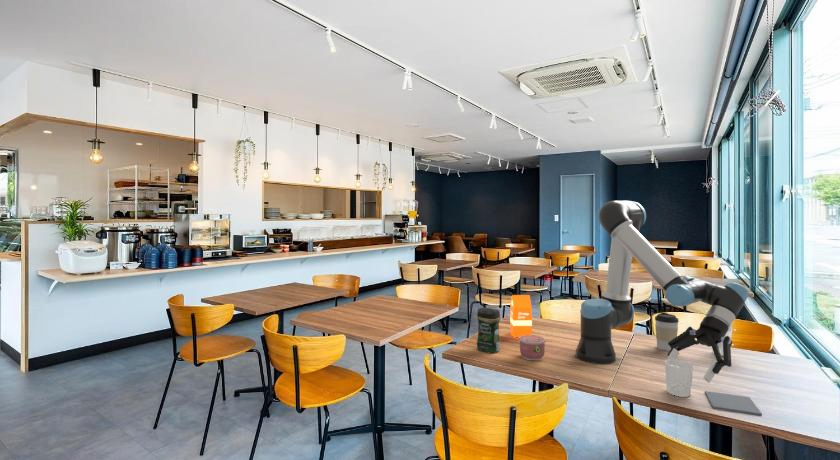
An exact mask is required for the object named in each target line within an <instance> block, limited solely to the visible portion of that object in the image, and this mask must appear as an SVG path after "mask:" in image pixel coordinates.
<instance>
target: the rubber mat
mask: <svg viewBox="0 0 840 460" xmlns="http://www.w3.org/2000/svg"><path fill="white" fill-rule="evenodd" d="M704 394H705V396H706V398H707V400H708V401H709V403H710V405H711V407H712V409H714V410H715V409H716V410H722V411H729V412H733V413H735V412H736V413H742V414H747V415H748V414H749V415H755V416H763V414H762V412H761V411H760V409H759V408H758V406H757V405H756V403H754V402H753V400H752V399H751V397H750V396H745V395H744V396H743V395H737V394H730V393H721V392H715V391H707V390H705V391H704Z"/></svg>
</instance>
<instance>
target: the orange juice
mask: <svg viewBox="0 0 840 460" xmlns="http://www.w3.org/2000/svg"><path fill="white" fill-rule="evenodd" d="M509 308H510V312H509V315H510V317H509V321H510V323H509V324H510V327H509V328H510V329H509V332H510V333H511V334H510V336H511V337H512V336H513V337H514V338H513V337H512V338H513V339H517V338H516V337H521V336H524V335H533V332H532V331H533V315H532V314H533V312H532V311H533V310H532V308H533V307H532V301H531V295H530V294H512V295H511V299H510V307H509Z"/></svg>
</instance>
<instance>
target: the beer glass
mask: <svg viewBox="0 0 840 460" xmlns="http://www.w3.org/2000/svg"><path fill="white" fill-rule="evenodd" d="M732 334H733V324H732V325H731V326H730V327H729V330H728V331H727V333H726V335H725V336H724V337H726V336H728V337H729V338H730V339H731V340H732ZM717 345H718V347H719V351H720V354H721V356H722V357H723V342H720V343H718V344H717ZM711 354H713V355H714V352H713V350H712V353H711Z"/></svg>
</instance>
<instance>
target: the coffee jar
mask: <svg viewBox="0 0 840 460" xmlns="http://www.w3.org/2000/svg"><path fill="white" fill-rule="evenodd" d="M476 319H477V321H478V323H477V324H478V331H477V332H478V333H477V342H476V349H477V350H478V351H480V350H481V351H480V352H483V351H484V352H485V353H488V352H489V353H488V354H495V353H494V352H496V353H497V352H500V350H501V341H500V329H499V328H500V326H499V325H500V321H501V314H500V310H499V309H497V308H490V307H485V306H482V307H479V308H478V309H477V313H476Z"/></svg>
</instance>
